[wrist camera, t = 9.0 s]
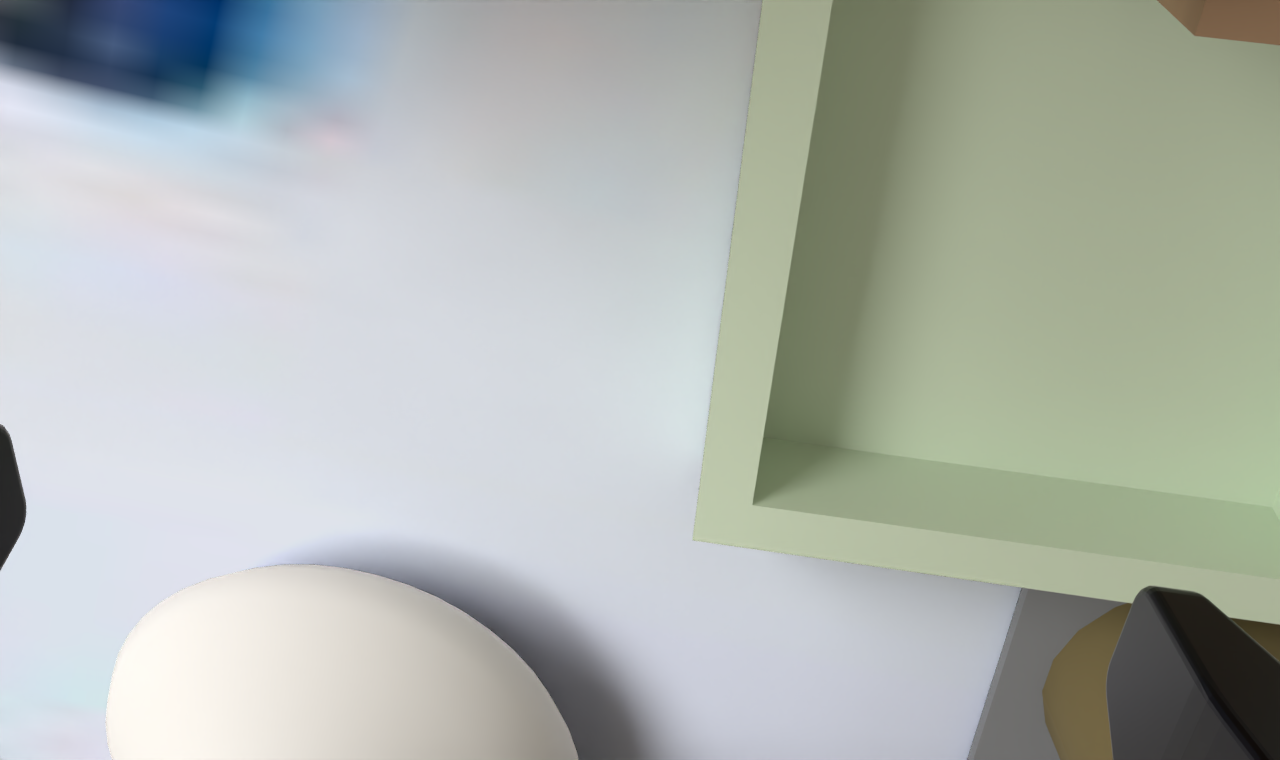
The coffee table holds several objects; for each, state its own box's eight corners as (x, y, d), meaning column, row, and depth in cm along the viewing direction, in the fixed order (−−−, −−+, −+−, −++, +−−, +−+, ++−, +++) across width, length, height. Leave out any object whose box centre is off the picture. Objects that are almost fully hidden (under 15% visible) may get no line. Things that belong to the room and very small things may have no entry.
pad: (1307, 833, 28) (1313, 847, 27) (960, 778, 28) (962, 792, 28) (1456, 567, 23) (1466, 580, 23) (1047, 510, 24) (1049, 522, 24)
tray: (1300, 545, 24) (1350, 634, 21) (703, 462, 25) (692, 540, 22) (1750, -417, 15) (1905, -432, 13) (827, -492, 16) (829, -519, 14)
